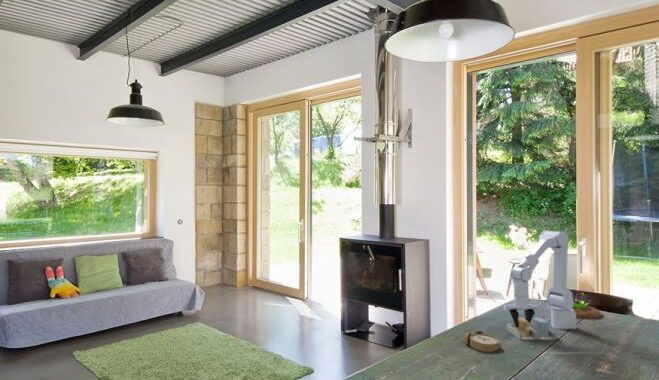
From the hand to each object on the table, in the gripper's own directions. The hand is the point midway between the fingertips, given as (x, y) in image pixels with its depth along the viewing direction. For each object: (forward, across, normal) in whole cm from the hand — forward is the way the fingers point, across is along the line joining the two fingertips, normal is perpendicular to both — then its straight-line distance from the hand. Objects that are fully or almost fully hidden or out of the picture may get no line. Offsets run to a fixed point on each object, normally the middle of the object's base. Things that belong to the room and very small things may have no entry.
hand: (521, 326), depth 183 cm
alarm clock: (+4, +21, +11) cm, 24 cm away
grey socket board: (+4, -4, -1) cm, 6 cm away
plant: (+4, -42, -36) cm, 56 cm away
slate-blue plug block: (+3, -8, 0) cm, 8 cm away
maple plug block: (+3, 0, 0) cm, 3 cm away
